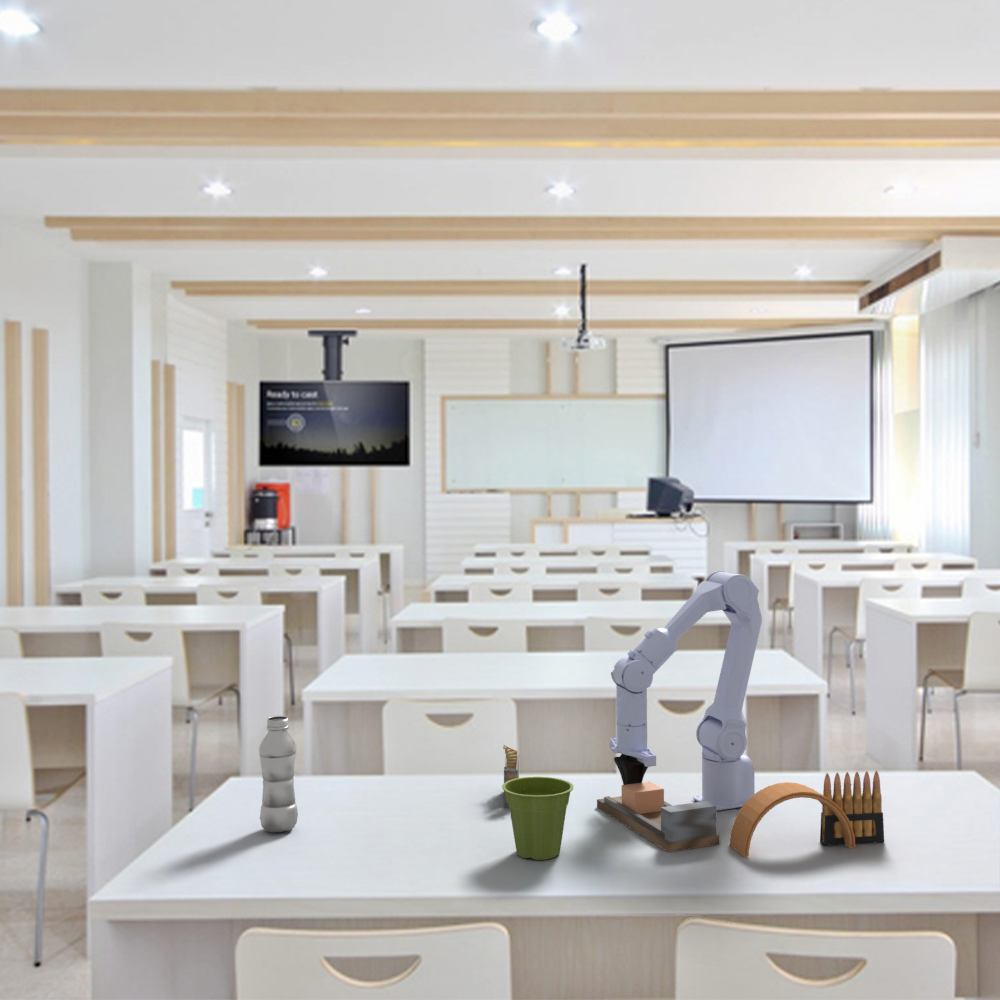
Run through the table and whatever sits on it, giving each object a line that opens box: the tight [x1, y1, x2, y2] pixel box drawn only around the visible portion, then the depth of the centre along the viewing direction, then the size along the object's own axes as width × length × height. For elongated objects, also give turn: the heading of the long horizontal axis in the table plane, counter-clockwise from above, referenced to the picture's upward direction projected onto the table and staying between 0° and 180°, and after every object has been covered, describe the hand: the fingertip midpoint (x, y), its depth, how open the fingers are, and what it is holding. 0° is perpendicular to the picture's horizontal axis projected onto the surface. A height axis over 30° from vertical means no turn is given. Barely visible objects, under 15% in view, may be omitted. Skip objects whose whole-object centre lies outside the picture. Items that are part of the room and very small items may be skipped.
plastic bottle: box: [258, 715, 299, 833], centre depth 182 cm, size 6×7×20 cm
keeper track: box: [596, 795, 721, 853], centre depth 184 cm, size 10×26×6 cm, turn 21°
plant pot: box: [501, 776, 575, 861], centre depth 170 cm, size 12×12×11 cm
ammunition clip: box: [819, 770, 885, 847], centre depth 174 cm, size 11×2×12 cm, turn 97°
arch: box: [729, 782, 856, 858], centre depth 172 cm, size 6×20×10 cm, turn 101°
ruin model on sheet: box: [502, 744, 520, 809], centre depth 200 cm, size 11×3×10 cm, turn 178°
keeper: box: [621, 781, 665, 814], centre depth 188 cm, size 6×5×4 cm
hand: (632, 795), depth 192 cm, fingers closed
